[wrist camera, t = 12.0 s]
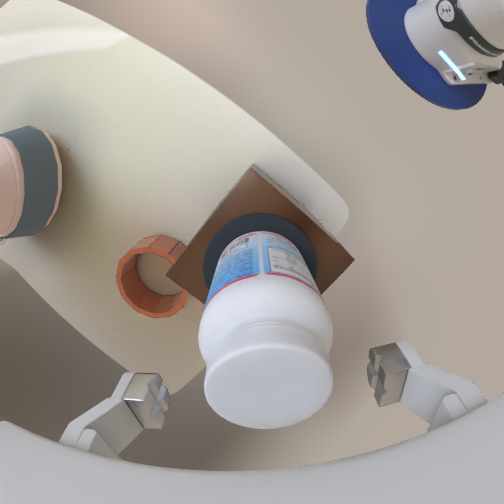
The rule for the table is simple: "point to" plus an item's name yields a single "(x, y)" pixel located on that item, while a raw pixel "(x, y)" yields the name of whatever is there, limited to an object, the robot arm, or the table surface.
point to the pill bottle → (265, 335)
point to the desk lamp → (28, 181)
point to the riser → (249, 202)
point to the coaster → (253, 225)
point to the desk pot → (137, 291)
